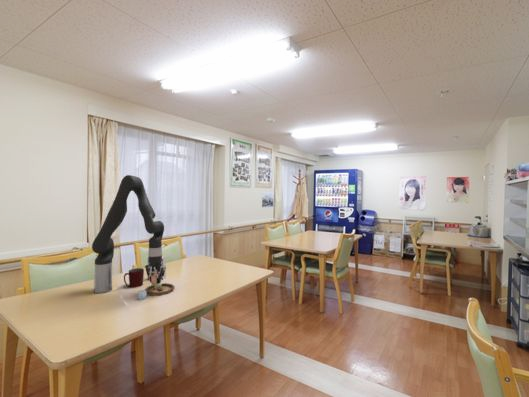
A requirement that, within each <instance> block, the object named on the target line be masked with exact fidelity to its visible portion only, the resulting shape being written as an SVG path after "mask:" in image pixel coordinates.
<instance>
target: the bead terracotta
mask: <svg viewBox="0 0 529 397" xmlns="http://www.w3.org/2000/svg"><path fill="white" fill-rule="evenodd" d="M150 284H151V285H156V284H157V275H156V274H153V275H151V283H150Z"/></svg>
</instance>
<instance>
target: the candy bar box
mask: <svg viewBox="0 0 529 397" xmlns="http://www.w3.org/2000/svg"><path fill="white" fill-rule="evenodd" d="M166 263H167V257H166V256H162V262H161V265H162V266H163V267H166V266H167V264H166ZM147 265H149V262H148V261H147ZM166 270H167V267H166V269H165V273H164V276H162V277H161V280H162V281H164V280H165V279H166V275H167V271H166ZM148 272H149V271H148ZM158 272H159V271H158ZM154 274H155V272H154ZM147 281H150V276H149V275H147Z"/></svg>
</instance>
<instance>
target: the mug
mask: <svg viewBox="0 0 529 397" xmlns="http://www.w3.org/2000/svg"><path fill="white" fill-rule="evenodd" d="M144 272H145V269H144V268H143V267H140V268H131V269H129V270H128V272H126V273H124V275H123V281H124V282H123V283H124V284H125V285H126V287H128V288H132V289H133V288H140V287H142V286H143V284H144V275H145V274H144ZM127 275H128V282H129V284H127V281H126V276H127Z"/></svg>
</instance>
